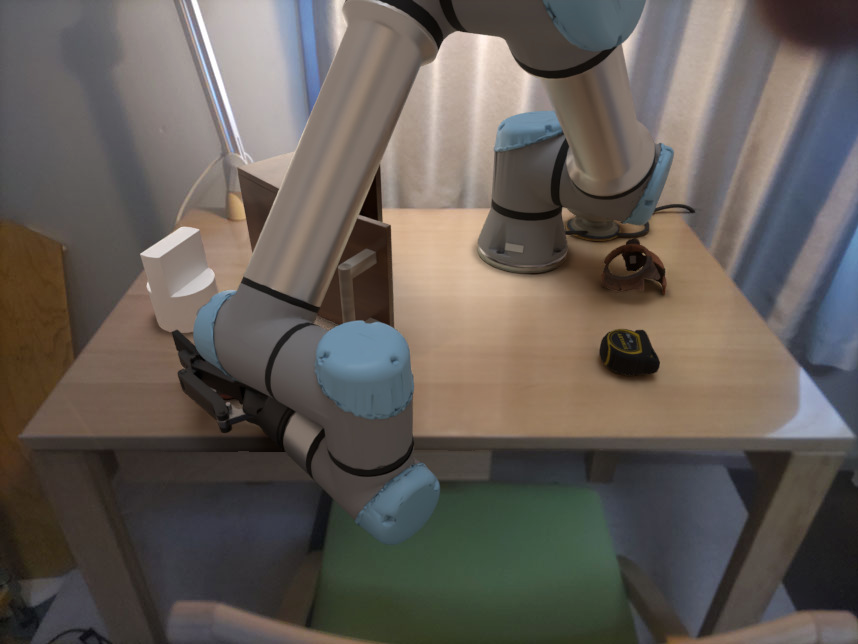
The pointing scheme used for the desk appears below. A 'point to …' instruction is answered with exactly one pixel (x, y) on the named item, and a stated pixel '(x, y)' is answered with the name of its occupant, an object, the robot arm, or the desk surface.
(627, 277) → the brown hollow curved shell
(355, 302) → the cabinet door
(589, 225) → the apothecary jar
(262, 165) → the cabinet
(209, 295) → the base with upright slab
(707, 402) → the desk surface
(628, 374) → the tape measure
